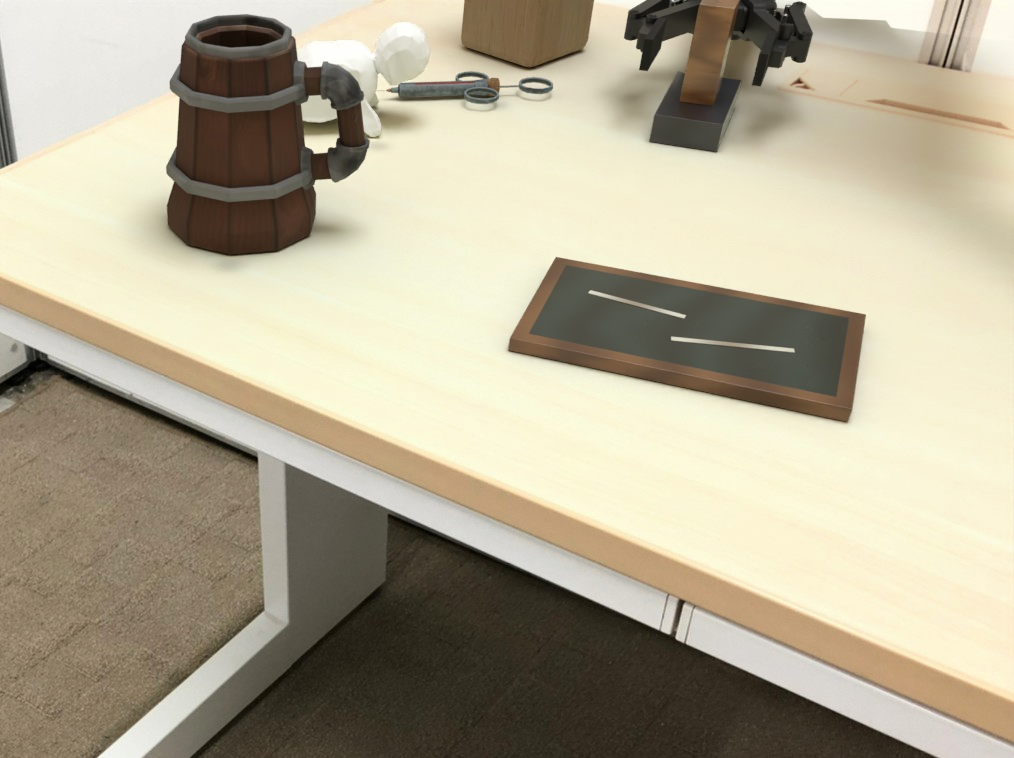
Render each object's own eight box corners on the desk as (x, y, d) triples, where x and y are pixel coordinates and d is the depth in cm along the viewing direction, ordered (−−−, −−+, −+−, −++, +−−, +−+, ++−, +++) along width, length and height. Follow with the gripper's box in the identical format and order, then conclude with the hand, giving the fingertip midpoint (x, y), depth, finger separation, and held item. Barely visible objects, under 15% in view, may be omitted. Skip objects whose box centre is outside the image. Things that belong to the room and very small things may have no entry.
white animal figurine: (292, 168, 116) (447, 110, 112) (257, 83, 110) (419, 19, 107) (293, 133, 122) (440, 77, 118) (260, 50, 117) (413, -11, 113)
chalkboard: (861, 326, 87) (866, 313, 87) (847, 422, 78) (852, 408, 78) (553, 268, 94) (555, 255, 93) (507, 350, 85) (509, 337, 84)
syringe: (363, 85, 124) (364, 68, 123) (541, 79, 125) (543, 62, 124) (374, 114, 118) (375, 96, 117) (561, 108, 119) (563, 90, 118)
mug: (157, 251, 96) (143, 53, 87) (187, 186, 105) (178, 1, 96) (358, 264, 95) (367, 64, 85) (371, 197, 104) (381, 9, 94)
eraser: (735, 106, 119) (764, -15, 112) (716, 152, 111) (746, 24, 104) (672, 97, 121) (696, -23, 114) (649, 141, 113) (673, 15, 106)
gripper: (842, 44, 123) (821, 123, 107) (622, 17, 130) (572, 88, 114) (865, -37, 118) (846, 34, 103) (635, -61, 125) (585, 2, 109)
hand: (702, 62), depth 108 cm, fingers open, 9 cm apart
